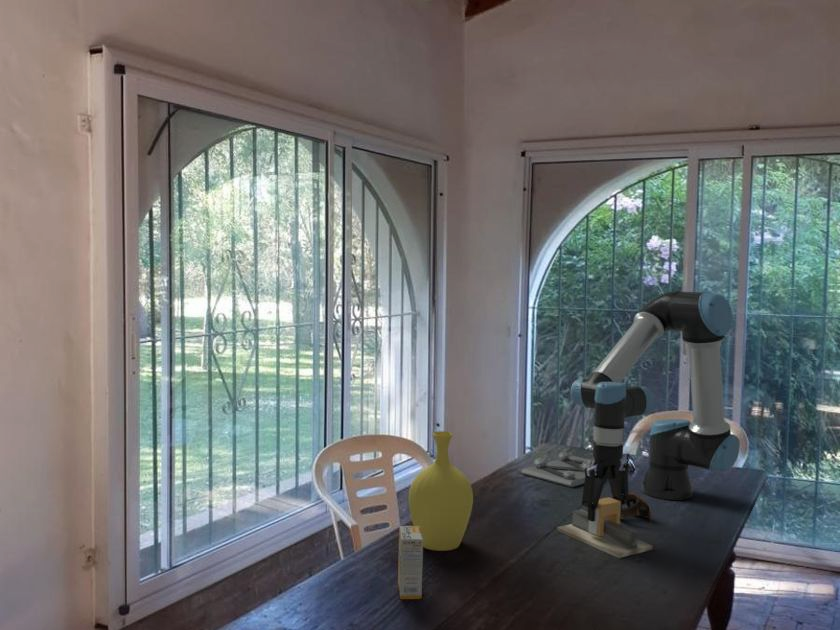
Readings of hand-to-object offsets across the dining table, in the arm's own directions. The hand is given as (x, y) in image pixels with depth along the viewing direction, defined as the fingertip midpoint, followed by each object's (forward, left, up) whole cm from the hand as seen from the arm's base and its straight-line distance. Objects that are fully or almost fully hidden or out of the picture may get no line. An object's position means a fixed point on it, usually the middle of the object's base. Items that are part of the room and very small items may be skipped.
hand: (604, 530), depth 208 cm
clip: (0, 0, 0) cm, 0 cm away
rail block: (0, 0, -3) cm, 3 cm away
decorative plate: (-38, -52, -3) cm, 65 cm away
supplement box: (+61, +3, -3) cm, 61 cm away
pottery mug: (-20, -9, -3) cm, 22 cm away
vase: (+39, -18, -3) cm, 43 cm away
